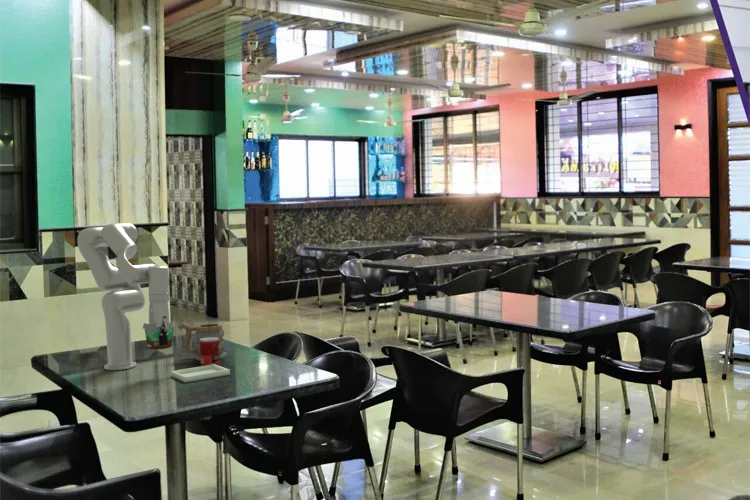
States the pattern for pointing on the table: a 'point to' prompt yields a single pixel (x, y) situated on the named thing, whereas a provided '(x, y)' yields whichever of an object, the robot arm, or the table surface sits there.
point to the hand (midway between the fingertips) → (160, 343)
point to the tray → (200, 373)
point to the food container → (157, 336)
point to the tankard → (203, 332)
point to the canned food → (209, 351)
